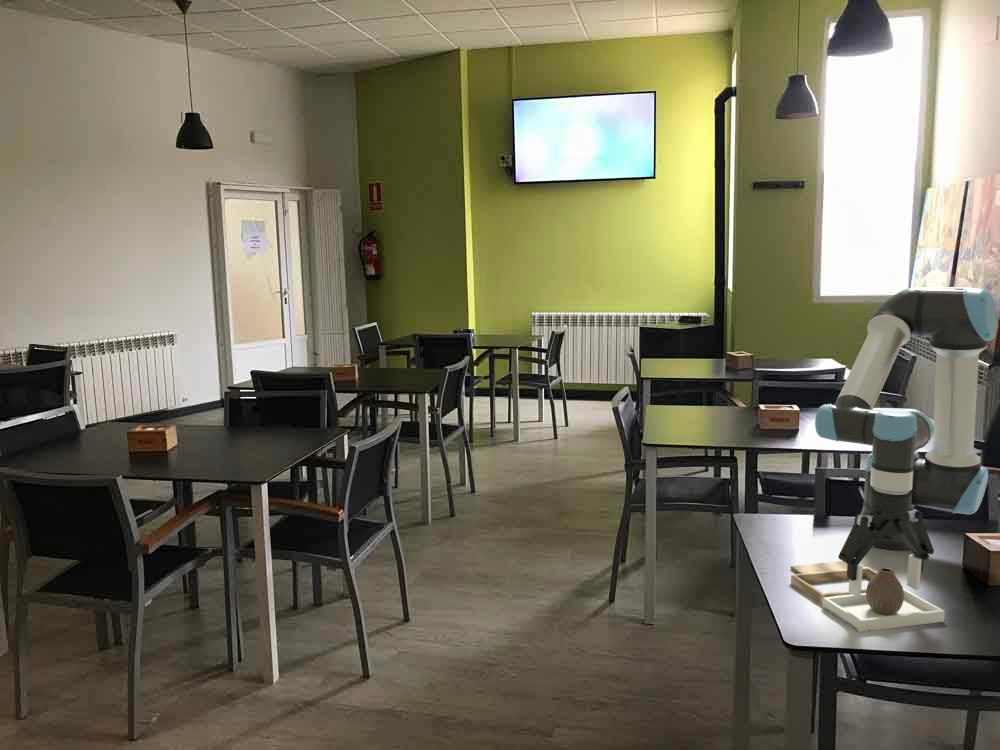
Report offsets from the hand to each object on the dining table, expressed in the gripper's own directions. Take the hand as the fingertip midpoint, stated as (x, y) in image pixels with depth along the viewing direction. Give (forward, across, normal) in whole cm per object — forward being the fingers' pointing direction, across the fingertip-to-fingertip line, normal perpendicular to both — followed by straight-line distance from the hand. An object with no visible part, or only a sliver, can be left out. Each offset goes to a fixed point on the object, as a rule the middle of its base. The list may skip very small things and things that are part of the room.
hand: (884, 591), depth 168 cm
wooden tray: (+5, -1, -13) cm, 14 cm away
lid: (+5, -3, -23) cm, 23 cm away
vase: (+4, 0, 0) cm, 4 cm away
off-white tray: (+5, 0, 0) cm, 5 cm away
